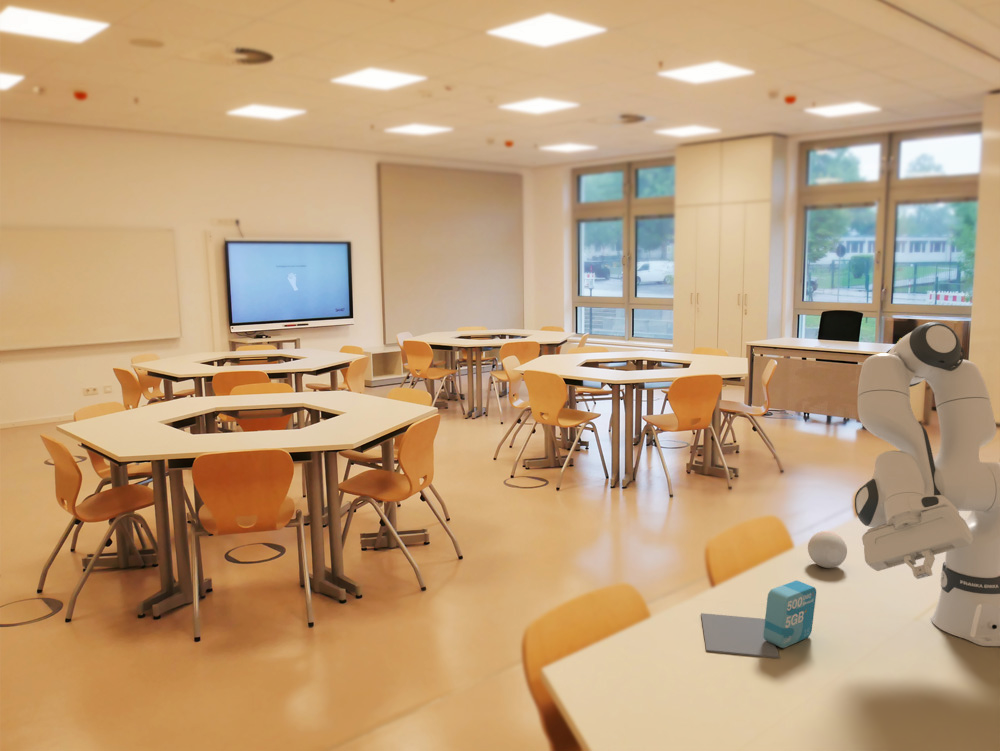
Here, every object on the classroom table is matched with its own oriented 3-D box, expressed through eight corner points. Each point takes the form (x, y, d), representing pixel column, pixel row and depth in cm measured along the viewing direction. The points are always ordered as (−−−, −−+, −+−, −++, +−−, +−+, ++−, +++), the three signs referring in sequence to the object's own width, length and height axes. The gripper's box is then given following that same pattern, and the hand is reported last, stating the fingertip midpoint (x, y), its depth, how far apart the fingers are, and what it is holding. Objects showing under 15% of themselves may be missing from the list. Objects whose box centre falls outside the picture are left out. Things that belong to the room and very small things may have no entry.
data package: (780, 650, 166) (786, 597, 164) (762, 641, 170) (767, 589, 168) (811, 636, 173) (817, 586, 171) (793, 628, 177) (799, 578, 175)
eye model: (836, 559, 219) (839, 526, 217) (852, 574, 209) (854, 538, 207) (801, 559, 219) (803, 525, 217) (814, 573, 209) (817, 538, 207)
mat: (767, 620, 181) (767, 619, 181) (779, 658, 163) (779, 656, 163) (701, 614, 184) (701, 613, 184) (706, 651, 166) (706, 649, 166)
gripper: (853, 525, 165) (863, 583, 155) (951, 492, 152) (969, 553, 143) (868, 538, 167) (880, 596, 158) (966, 507, 155) (985, 568, 145)
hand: (923, 576), depth 150 cm, fingers closed
